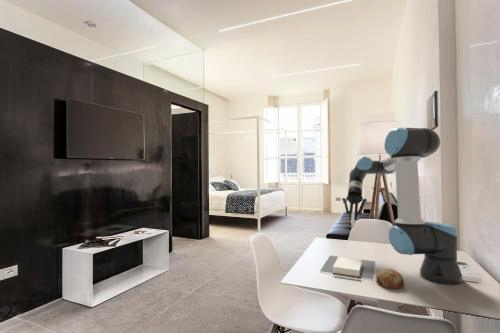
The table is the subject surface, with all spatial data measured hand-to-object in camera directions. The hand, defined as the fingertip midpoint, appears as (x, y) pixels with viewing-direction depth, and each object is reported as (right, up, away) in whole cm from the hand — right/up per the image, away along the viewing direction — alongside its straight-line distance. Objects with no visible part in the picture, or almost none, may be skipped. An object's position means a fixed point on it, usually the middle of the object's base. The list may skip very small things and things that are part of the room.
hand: (352, 224), depth 147 cm
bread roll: (+4, -18, -32) cm, 37 cm away
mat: (-6, -18, -12) cm, 22 cm away
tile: (-5, -16, -9) cm, 19 cm away
